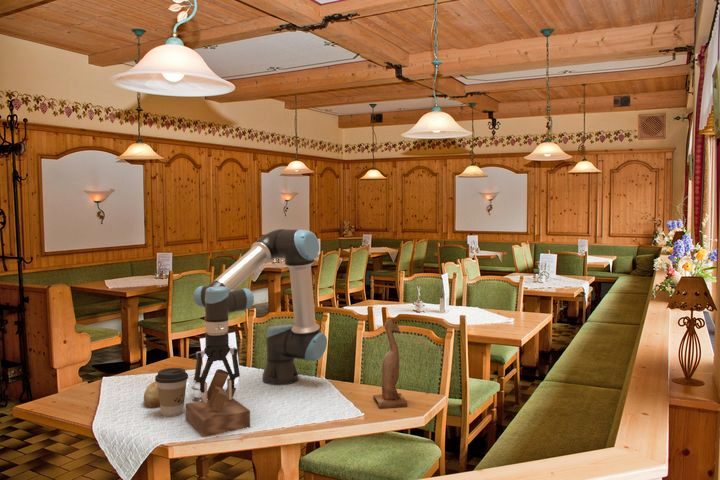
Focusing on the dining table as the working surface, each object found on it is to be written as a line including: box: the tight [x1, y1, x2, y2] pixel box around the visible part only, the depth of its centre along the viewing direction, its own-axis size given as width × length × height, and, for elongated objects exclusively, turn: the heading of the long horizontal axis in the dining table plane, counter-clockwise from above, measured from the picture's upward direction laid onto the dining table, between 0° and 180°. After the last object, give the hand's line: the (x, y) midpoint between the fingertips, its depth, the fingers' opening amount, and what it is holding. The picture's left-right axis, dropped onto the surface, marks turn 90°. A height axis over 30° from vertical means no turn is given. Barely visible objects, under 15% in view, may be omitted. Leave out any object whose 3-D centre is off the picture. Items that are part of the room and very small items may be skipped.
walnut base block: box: [185, 397, 251, 438], centre depth 201 cm, size 16×18×6 cm
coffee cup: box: [154, 367, 189, 417], centre depth 210 cm, size 11×11×15 cm
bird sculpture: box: [372, 318, 408, 409], centre depth 222 cm, size 11×12×32 cm
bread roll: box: [143, 381, 160, 409], centre depth 222 cm, size 10×15×8 cm, turn 177°
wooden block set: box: [207, 368, 237, 412], centre depth 199 cm, size 18×9×10 cm, turn 3°
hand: (217, 399), depth 200 cm, fingers closed on wooden block set, 7 cm apart
